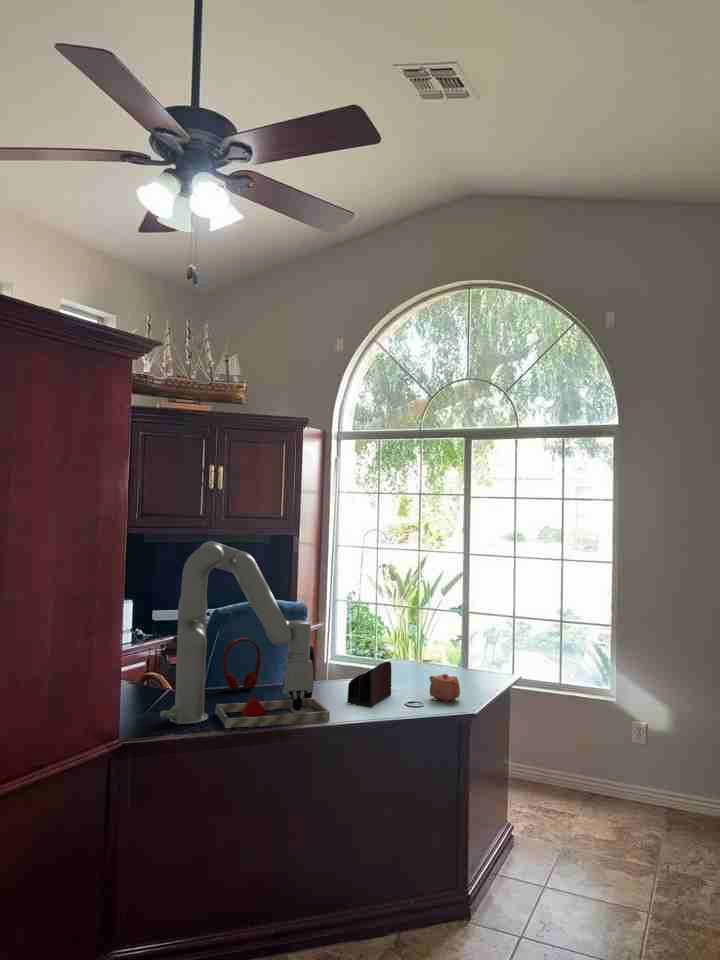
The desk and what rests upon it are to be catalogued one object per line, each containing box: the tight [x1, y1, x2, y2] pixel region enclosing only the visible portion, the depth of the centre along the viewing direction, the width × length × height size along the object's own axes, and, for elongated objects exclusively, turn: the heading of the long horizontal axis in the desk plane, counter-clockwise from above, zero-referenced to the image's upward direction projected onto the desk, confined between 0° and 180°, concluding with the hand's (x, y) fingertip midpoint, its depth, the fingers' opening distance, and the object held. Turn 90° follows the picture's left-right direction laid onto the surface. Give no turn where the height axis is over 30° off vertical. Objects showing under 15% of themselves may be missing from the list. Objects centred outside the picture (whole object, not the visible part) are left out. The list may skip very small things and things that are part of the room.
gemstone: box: [239, 696, 267, 718], centre depth 250 cm, size 9×9×10 cm
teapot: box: [429, 673, 461, 703], centre depth 285 cm, size 12×12×10 cm
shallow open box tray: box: [215, 697, 331, 729], centre depth 255 cm, size 36×18×4 cm, turn 112°
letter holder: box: [346, 660, 392, 708], centre depth 282 cm, size 10×20×14 cm, turn 156°
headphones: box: [221, 637, 261, 692], centre depth 289 cm, size 15×7×20 cm, turn 118°
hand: (297, 709), depth 258 cm, fingers closed
